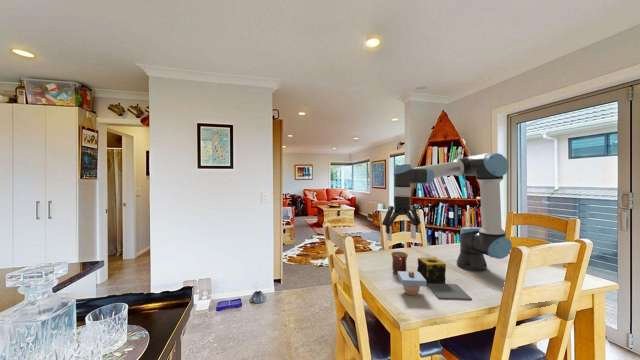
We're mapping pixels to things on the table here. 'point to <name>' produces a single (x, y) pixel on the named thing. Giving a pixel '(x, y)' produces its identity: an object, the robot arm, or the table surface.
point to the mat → (448, 291)
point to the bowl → (411, 289)
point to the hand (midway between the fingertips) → (401, 239)
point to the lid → (411, 278)
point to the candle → (432, 270)
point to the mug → (399, 261)
